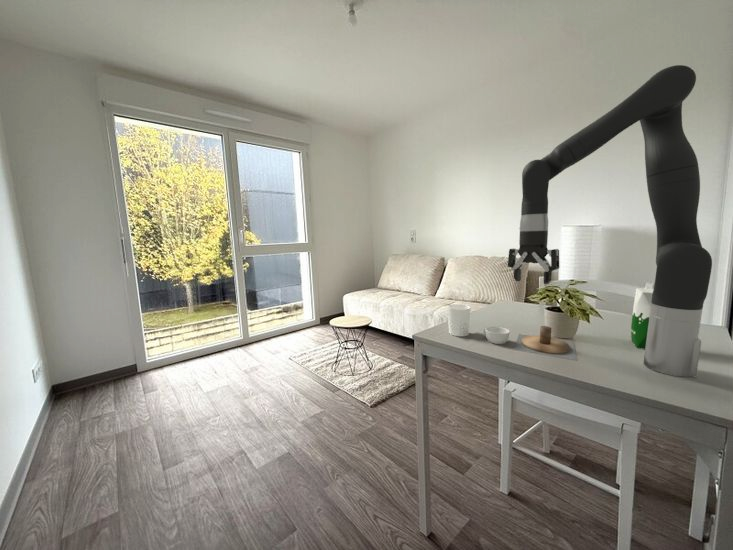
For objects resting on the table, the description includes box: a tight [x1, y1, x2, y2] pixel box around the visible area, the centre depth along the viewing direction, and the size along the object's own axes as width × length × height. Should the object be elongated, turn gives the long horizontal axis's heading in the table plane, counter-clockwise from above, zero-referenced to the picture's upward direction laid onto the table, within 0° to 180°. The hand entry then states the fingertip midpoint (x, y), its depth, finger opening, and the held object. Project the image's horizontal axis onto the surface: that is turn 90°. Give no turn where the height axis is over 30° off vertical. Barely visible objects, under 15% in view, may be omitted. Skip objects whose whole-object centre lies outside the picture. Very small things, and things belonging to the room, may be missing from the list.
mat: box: [513, 333, 578, 362], centre depth 95 cm, size 16×16×1 cm
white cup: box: [447, 303, 472, 337], centre depth 108 cm, size 8×8×10 cm
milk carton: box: [630, 287, 654, 349], centre depth 93 cm, size 9×9×20 cm
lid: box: [522, 325, 570, 354], centre depth 94 cm, size 13×13×6 cm
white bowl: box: [483, 326, 511, 345], centre depth 99 cm, size 10×10×5 cm
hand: (531, 282), depth 93 cm, fingers open, 8 cm apart
